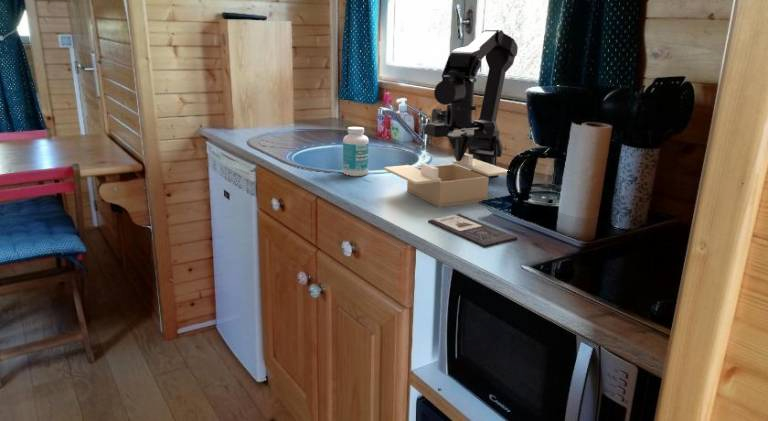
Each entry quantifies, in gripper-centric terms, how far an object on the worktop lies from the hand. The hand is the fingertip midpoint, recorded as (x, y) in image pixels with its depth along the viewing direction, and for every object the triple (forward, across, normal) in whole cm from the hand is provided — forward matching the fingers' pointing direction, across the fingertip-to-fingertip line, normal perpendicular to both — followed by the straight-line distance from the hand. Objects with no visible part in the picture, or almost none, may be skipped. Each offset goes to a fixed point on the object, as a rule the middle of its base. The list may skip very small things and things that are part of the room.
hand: (458, 160), depth 153 cm
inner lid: (+1, -4, +5) cm, 6 cm away
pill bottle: (+8, +18, -26) cm, 32 cm away
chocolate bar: (+8, +16, +30) cm, 35 cm away
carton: (+8, +6, +4) cm, 11 cm away
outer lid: (+1, +17, +4) cm, 17 cm away
